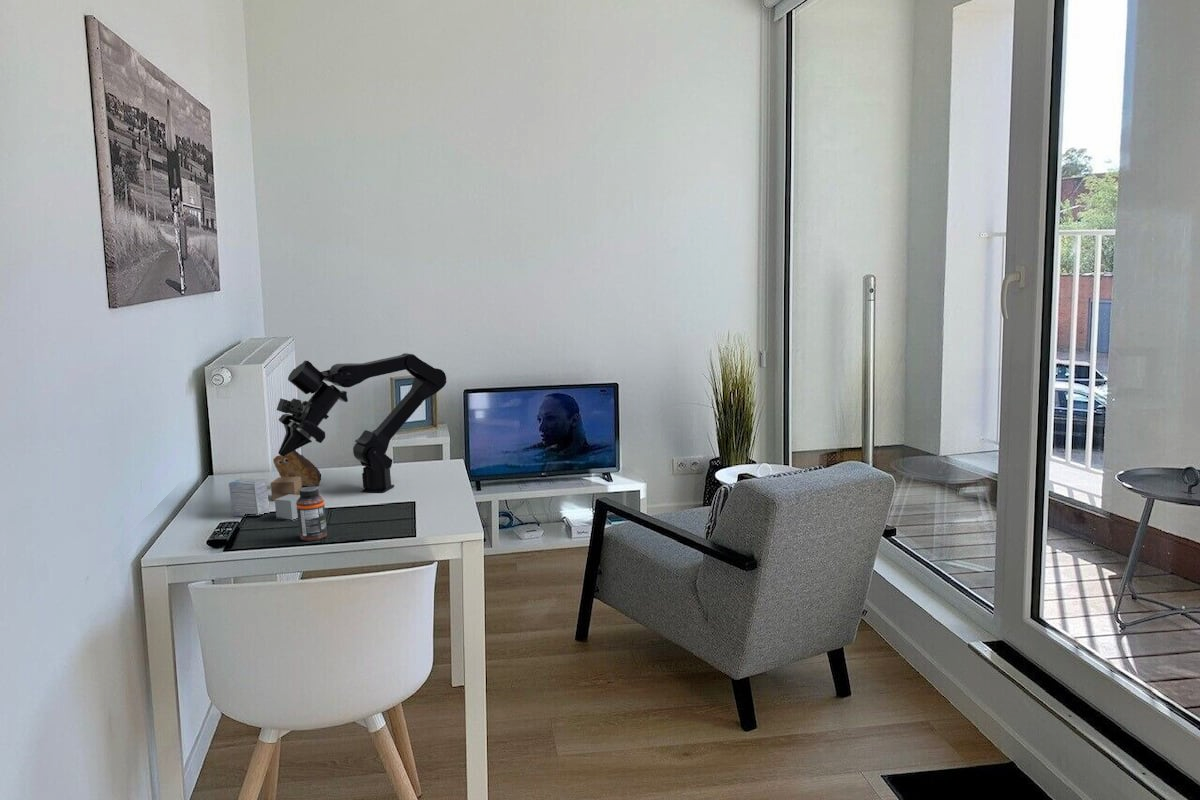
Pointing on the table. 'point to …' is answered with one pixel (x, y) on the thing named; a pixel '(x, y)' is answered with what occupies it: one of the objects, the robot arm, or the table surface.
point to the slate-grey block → (287, 506)
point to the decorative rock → (297, 468)
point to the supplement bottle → (311, 514)
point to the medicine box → (249, 496)
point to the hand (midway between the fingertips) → (280, 454)
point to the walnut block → (285, 486)
